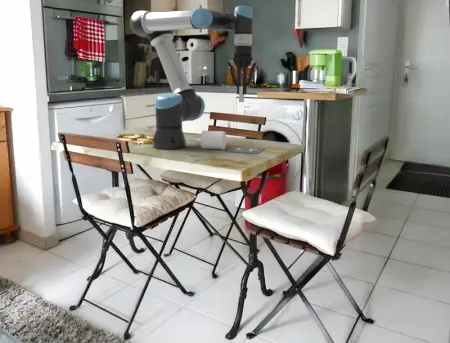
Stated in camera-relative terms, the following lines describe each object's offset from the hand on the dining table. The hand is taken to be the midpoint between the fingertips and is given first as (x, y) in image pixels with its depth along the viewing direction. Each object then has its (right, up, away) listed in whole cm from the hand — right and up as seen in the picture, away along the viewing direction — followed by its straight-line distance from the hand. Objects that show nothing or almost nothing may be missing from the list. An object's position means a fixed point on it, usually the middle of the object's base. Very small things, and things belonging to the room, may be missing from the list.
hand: (241, 101), depth 193 cm
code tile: (+2, -21, +3) cm, 21 cm away
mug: (-12, -20, +8) cm, 24 cm away
